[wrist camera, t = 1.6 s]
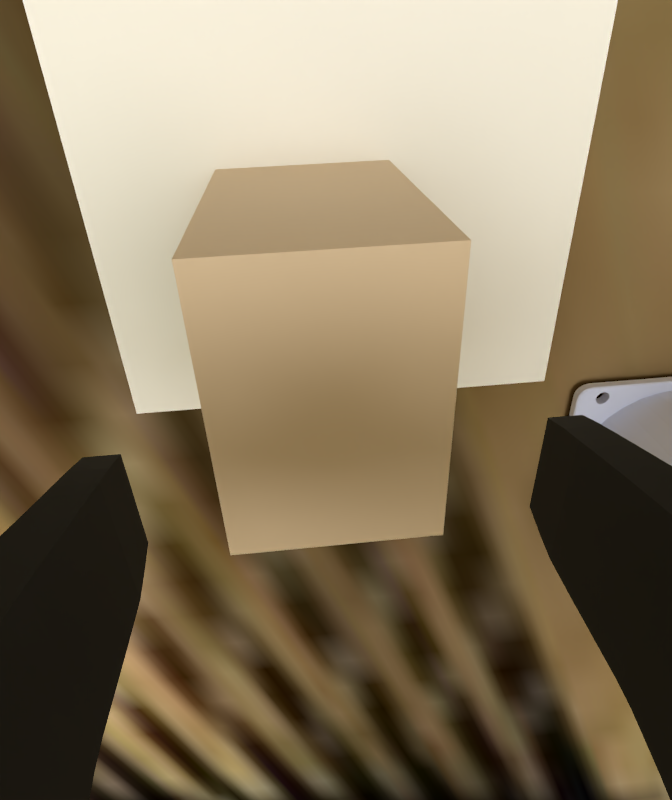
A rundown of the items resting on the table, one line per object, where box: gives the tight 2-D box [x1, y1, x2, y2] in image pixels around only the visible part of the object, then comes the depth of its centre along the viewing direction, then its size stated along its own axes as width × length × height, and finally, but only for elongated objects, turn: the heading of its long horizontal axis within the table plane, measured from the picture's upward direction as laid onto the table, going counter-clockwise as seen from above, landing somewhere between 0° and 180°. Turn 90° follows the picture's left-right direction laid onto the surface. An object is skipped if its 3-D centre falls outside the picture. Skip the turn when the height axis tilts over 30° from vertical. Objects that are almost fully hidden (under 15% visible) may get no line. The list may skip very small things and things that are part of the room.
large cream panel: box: [23, 0, 618, 414], centre depth 14 cm, size 15×18×4 cm
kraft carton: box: [172, 160, 471, 555], centre depth 14 cm, size 5×7×8 cm
